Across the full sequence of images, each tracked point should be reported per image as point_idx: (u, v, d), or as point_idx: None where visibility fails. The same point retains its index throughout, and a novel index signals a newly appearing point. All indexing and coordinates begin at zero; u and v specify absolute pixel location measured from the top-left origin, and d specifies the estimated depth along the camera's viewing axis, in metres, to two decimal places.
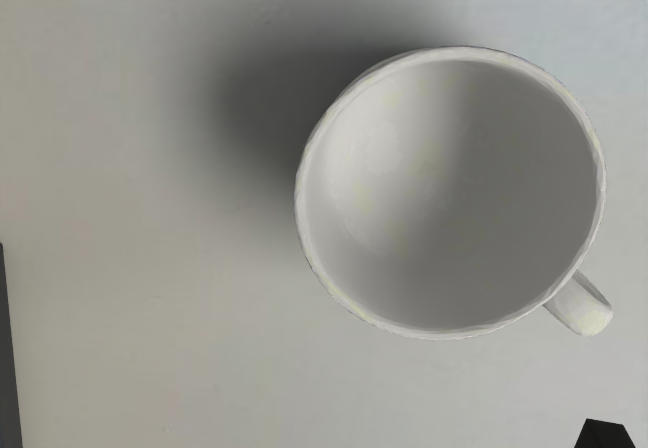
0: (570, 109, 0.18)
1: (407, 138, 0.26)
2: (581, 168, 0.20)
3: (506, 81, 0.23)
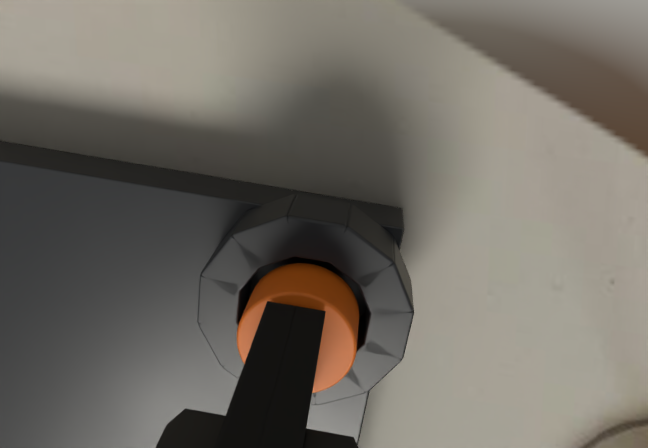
0: None
1: None
2: None
3: None
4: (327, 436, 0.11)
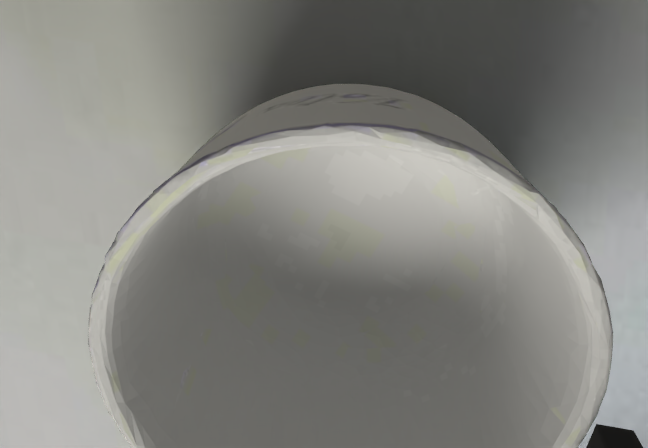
0: None
1: (383, 209, 0.17)
2: None
3: (470, 344, 0.17)
4: None
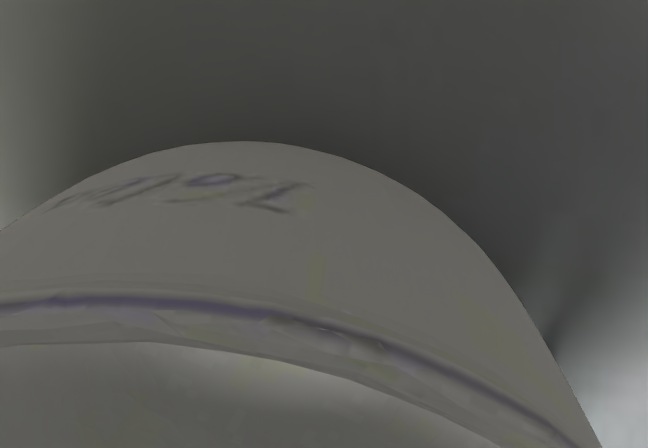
0: None
1: None
2: None
3: None
4: None
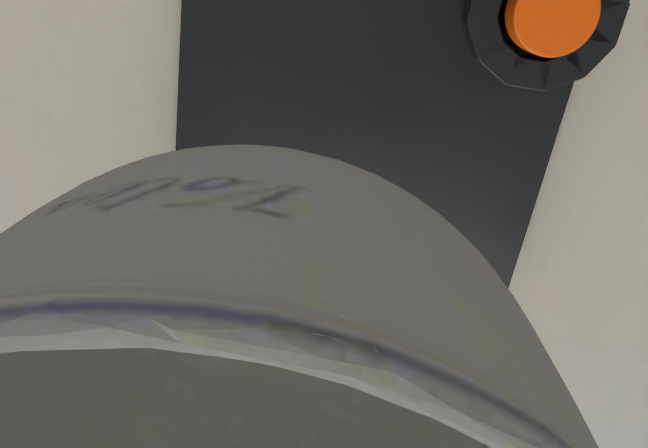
0: None
1: None
2: None
3: None
4: None
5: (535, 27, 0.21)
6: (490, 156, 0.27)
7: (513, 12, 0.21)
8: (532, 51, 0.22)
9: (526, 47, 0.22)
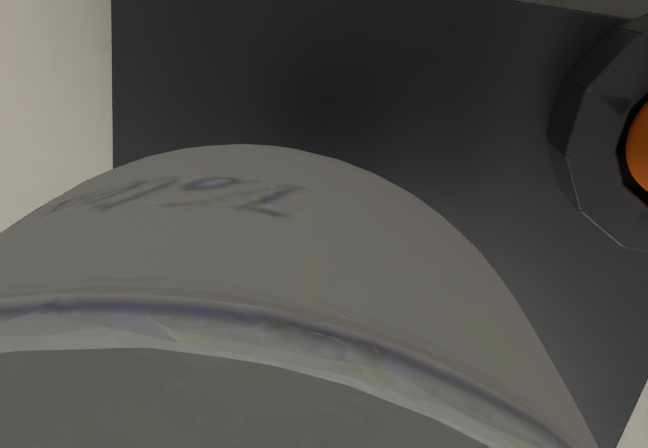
0: None
1: None
2: None
3: None
4: None
5: None
6: (579, 326, 0.18)
7: None
8: None
9: None
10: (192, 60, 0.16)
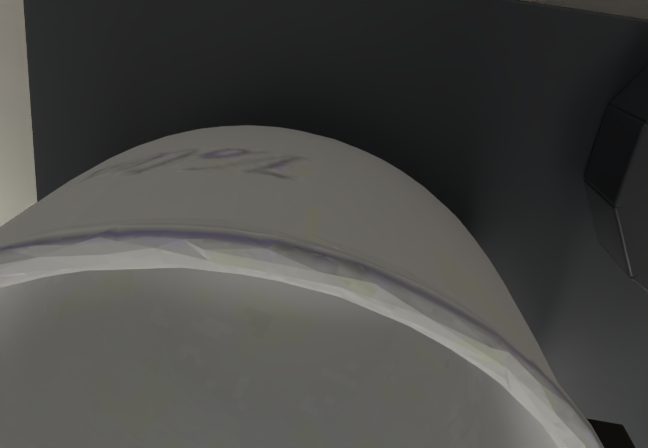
0: None
1: None
2: None
3: None
4: None
5: None
6: (619, 405, 0.15)
7: None
8: None
9: None
10: (131, 81, 0.12)
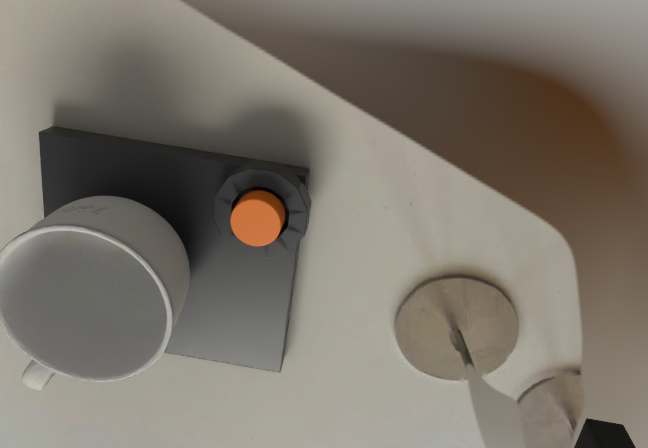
0: (148, 361, 0.34)
1: None
2: (121, 364, 0.36)
3: None
4: None
5: (244, 230, 0.35)
6: (253, 289, 0.40)
7: (230, 221, 0.35)
8: (245, 242, 0.35)
9: (241, 240, 0.35)
10: (74, 177, 0.38)
